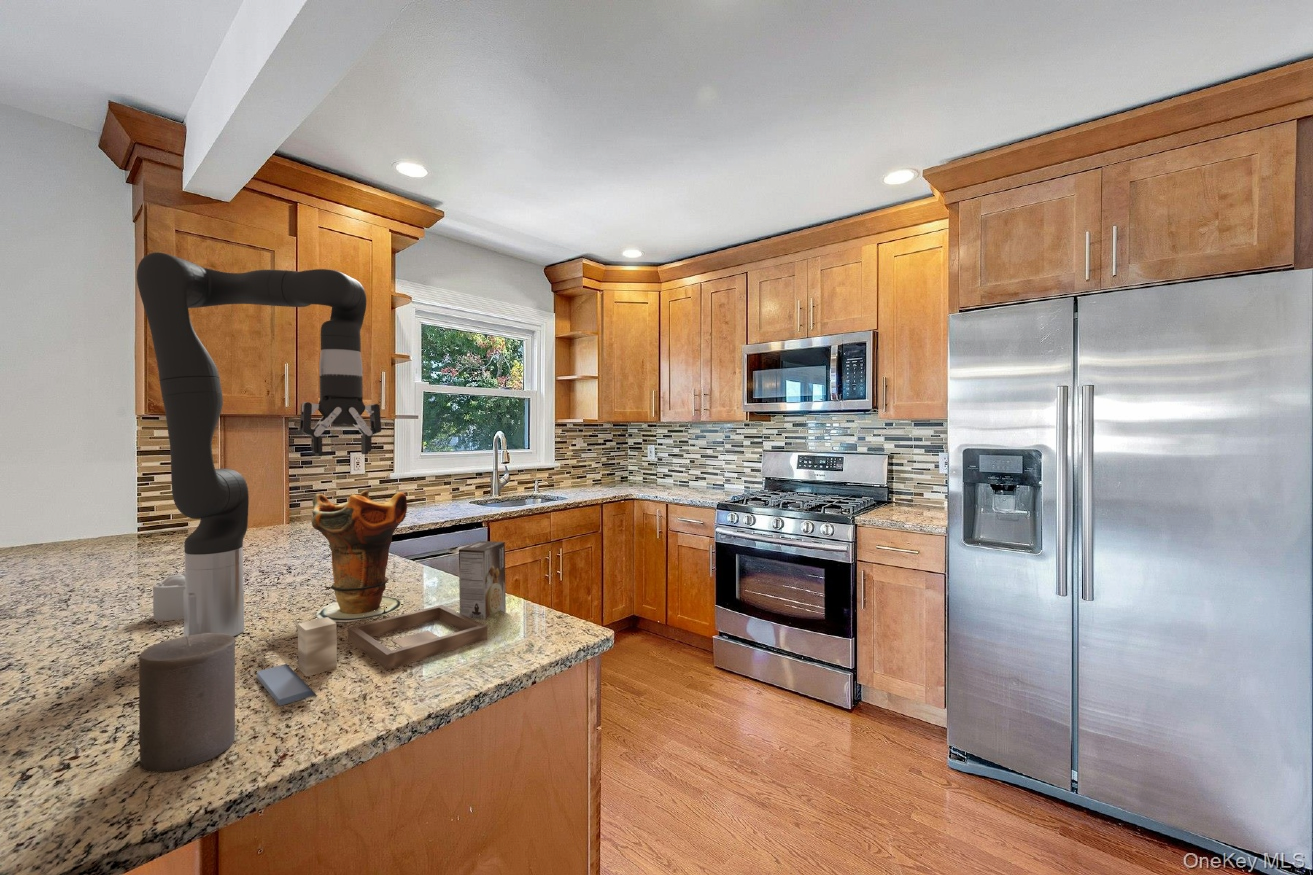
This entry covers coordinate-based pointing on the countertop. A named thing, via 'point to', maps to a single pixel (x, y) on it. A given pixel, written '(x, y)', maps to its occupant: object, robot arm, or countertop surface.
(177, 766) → the pillar candle
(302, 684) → the pad
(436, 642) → the brown wooden square frame
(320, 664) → the maple block
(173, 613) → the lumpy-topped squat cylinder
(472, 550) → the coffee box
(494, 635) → the countertop surface
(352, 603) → the decorative vase
